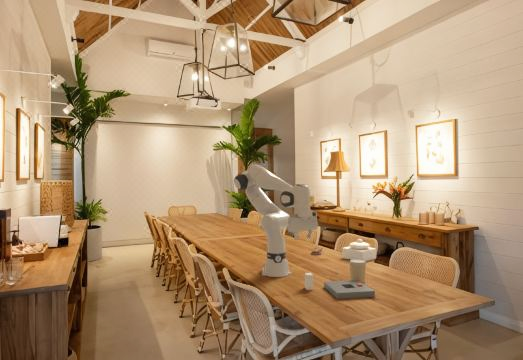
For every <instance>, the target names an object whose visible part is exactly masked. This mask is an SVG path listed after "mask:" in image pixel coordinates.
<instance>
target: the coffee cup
mask: <svg viewBox="0 0 523 360" xmlns="http://www.w3.org/2000/svg"><path fill="white" fill-rule="evenodd" d="M366 262H367V261H366ZM366 262H365V261H364V260H357V259H355V260H349V262H348V263H349V272H350V280H359V281H360V282H362V283H363V284H365V281H366V266H367V265H366V264H367V263H366Z"/></svg>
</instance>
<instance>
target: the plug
mask: <svg viewBox="0 0 523 360" xmlns="http://www.w3.org/2000/svg"><path fill="white" fill-rule="evenodd" d="M304 288H305V289H306V291H313V290H314V274H313V273H312V272H305V273H304Z"/></svg>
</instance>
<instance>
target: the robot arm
mask: <svg viewBox="0 0 523 360" xmlns="http://www.w3.org/2000/svg"><path fill="white" fill-rule="evenodd" d="M233 183H234V185H235V188H237V190H239V191H244V190H245V194H246V197H247V199H248V201H249V203H251V205H252V206H253V208H255V210H256V211H257V213H258V214H260V215H262V217H261V219H260V226H261V228H262V230H263V231H264V232H265V235H266V241H267V253H266V260H265V262H263V263H262V267H263V268H262V270H261V276H267V277H270V278H271V277H272V278H282V277H283V278H284V277H286V276H288V275H292V272H291V271H290V270H289V260H288V259H287V252H286V240H285V238H284V237H283V235H282V232H281V231H282V230H284V229H286V228H287V232H288V233H292V235H293V236H294V240H295V241H299V240H300V236H298V232H306V231H307V232H308V233H307V234H306V238H307V239H311V238H312V235H313V234H312V233H313V231H314V230H317V228H318V218H317V217H318V212H316V211H314V210H311V204H310V202H311V192H310V191H311V190H310V187H309V185H307V184H301V183H298V184H294V185H292V184H290V183H289V182H286V181H285V180H283V179H282V178H280V177H279V176H277V175H275V174H274V173H272V172H271V171H269V170H268V169H267V168H265V167H263V166H262V165H260V164H258V163H257V164H252V165H250V166H249V167H248V168H247V169H246V170H245V171H243V172H241V173H239V174H237V175H235V177H234V180H233ZM263 190H270V191H272V190H273V191H279V192H281V194H280V195H279V201H280V204H281V205H282V207H284V208H293V211H294V213H293V214H289V213H288V212H285V211H284V210H282V209H281V208H280V207H278V206H277V205H276V204H274V202H273V201H271V199H270V198H269V197H268V195H267V194H266V193H265V192H264V191H263Z"/></svg>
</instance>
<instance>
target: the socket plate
mask: <svg viewBox="0 0 523 360" xmlns="http://www.w3.org/2000/svg"><path fill="white" fill-rule="evenodd" d="M323 287H324V288H325V290H327V291H328V292H329V293H330V294H331V295H332V296H333V297H334V298H336V299H337V300H345V299H361V298H364V299H365V298H375V297H376V290H374V289H373V288H371V287H370V286H369V285H366V284H365V283H362V282H360V281H359V280H351V279H350V280H349V279H348V280H335V281H334V280H332V281H331V280H330V281H323Z"/></svg>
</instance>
